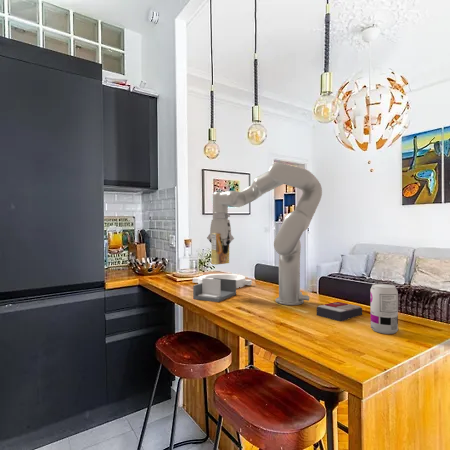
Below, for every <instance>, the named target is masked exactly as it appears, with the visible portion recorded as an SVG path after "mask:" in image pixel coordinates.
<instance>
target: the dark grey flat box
mask: <svg viewBox="0 0 450 450" xmlns="http://www.w3.org/2000/svg"><path fill="white" fill-rule="evenodd" d="M362 315H363V307H361V306H360V305H356V304H352V303H350V304H349V303H346V302H341V301H336V302H330V303H324V304H322V305H318V306H316V316H317V317H322V318H325V319H329V320H333V321H337V322H341V323H342V322H344V321H348V320H349V319H353V318H355V317H356V318H357V317H359V316H362Z"/></svg>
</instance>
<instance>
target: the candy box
mask: <svg viewBox="0 0 450 450" xmlns="http://www.w3.org/2000/svg"><path fill="white" fill-rule="evenodd" d="M211 238H212V239H211V242H210V244H211V246H210V248H211V251H210V253H211V255H210V257H211V258H210V259H211V261H210V263H211V265H225V264H230V244H229V245H228V253H226V254H224V253H223V246H224V241H223V240H222V239H221V236H220V234H219V233H212V237H211ZM228 240H229V239H228Z"/></svg>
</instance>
